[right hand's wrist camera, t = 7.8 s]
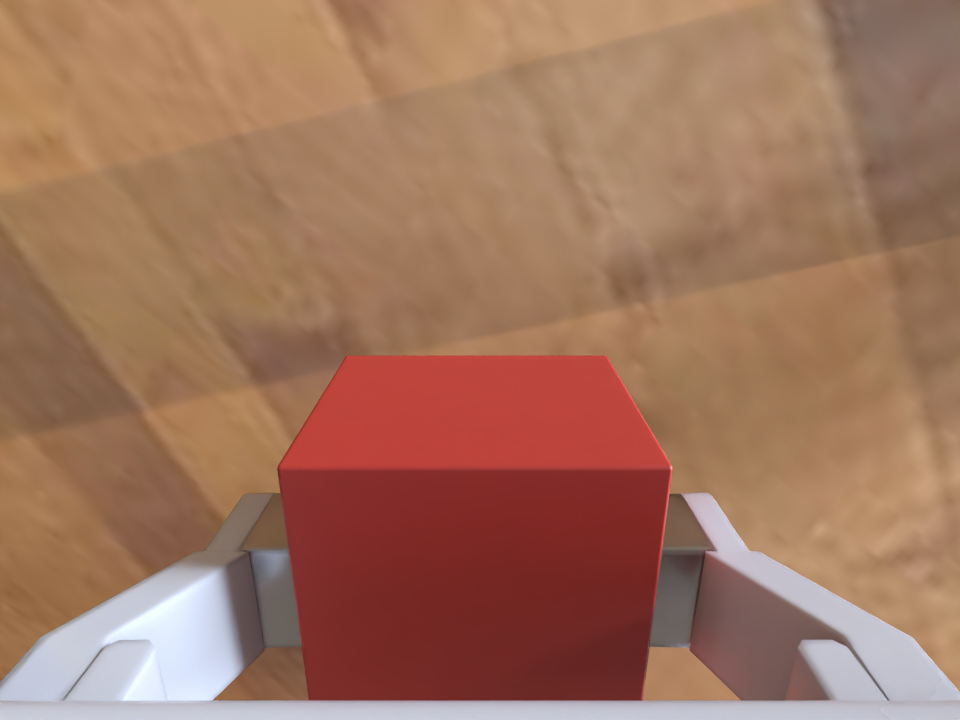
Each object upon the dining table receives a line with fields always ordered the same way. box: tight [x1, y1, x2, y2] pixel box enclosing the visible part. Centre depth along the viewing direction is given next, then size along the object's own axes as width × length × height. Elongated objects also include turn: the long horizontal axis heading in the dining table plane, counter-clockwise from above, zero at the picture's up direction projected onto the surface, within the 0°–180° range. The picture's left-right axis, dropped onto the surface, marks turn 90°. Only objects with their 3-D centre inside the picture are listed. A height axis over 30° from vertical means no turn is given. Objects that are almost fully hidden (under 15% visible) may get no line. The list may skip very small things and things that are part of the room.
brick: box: [277, 356, 673, 701], centre depth 10 cm, size 5×5×4 cm
